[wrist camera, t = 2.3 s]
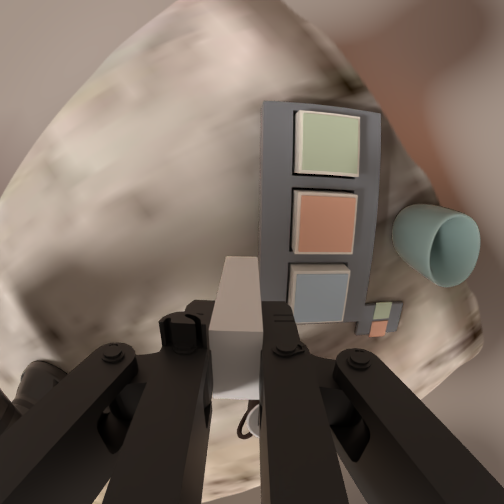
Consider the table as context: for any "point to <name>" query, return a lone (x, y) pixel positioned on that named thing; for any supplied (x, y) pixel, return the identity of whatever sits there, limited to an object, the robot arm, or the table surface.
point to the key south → (317, 291)
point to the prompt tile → (379, 318)
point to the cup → (437, 242)
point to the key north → (326, 143)
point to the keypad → (281, 182)
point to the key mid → (322, 221)
